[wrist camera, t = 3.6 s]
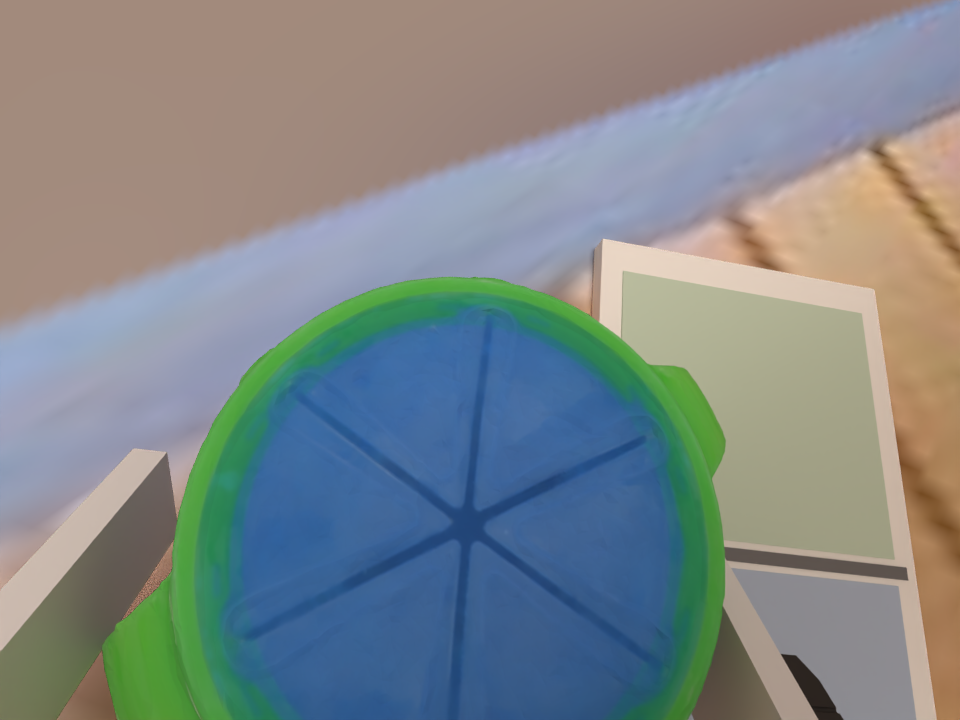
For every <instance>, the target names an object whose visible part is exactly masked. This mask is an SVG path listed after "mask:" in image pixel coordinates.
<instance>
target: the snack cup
mask: <svg viewBox="0 0 960 720" xmlns="http://www.w3.org/2000/svg"><path fill="white" fill-rule="evenodd" d="M725 447H726V439H725V437H724V434H723V430H722V429H721V426H720V424H719V422H718V421H717V419H716V416H715V414H714V412H713V410H712V408H711V407H710V405H709V403H708V401H707V399H706V398H705V396H704V394H703V393H702V391H701V389H700V388H699V386H698V384H697V383H696V382H695V380H694V379H693V378H692V376H691V375H690V373H689V372H688V370H686V369H685V368H682V367H677V366H667V365H650V364H647V363H646V362H645V361H644V360H643V359H642V358H641V357H640V356H639V355H638V354H637V353H636V352H635V351H634V350H633V349H632V348H631V347H630V346H629V345H628V344H627V343H625V342H624V341H623V340H622V339H621V338H620V337H619V336H617V335H616V334H615V333H613V332H612V331H611V330H609V329H608V328H607V327H605V326H604V325H602V324H601V323H600V322H598V321H597V320H595V319H594V318H593V317H591V316H590V315H588V314H587V313H585V312H583V311H581V310H579V309H577V308H576V307H574V306H572V305H570V304H568V303H566V302H563V301H561V300H559V299H557V298H554V297H552V296H550V295H547V294H545V293H541V292H538V291H534V290H531V289H529V288H527V287H524V286H519V285H514V284H511V283H509V282H506V281H503V280H500V279H495V278H478V277H472V278H462V277H439V278H428V279H419V280H410V281H404V282H400V283H396V284H392V285H389V286H384V287H379V288H376V289H374V290H371V291H368V292H366V293H363V294H361V295H359V296H356V297H354V298H351V299H349V300H346V301H344V302H342V303H340V304H338V305H336V306H334V307H333V308H331V309H329V310H327V311H325V312H323V313H321V314H320V315H318V316H317V317H315V318H313V319H312V320H310V321H309V322H308V323H306V324H305V325H303V326H302V327H300V328H299V329H297V330H296V331H295V332H294V333H292V334H291V335H290V336H288V337H287V338H286V339H284V340H283V341H282V342H281V343H279V344H278V345H277V346H276V347H275V348H273V349H270V350H269V351H268V352H267V353H266V354H264V355H263V356H262V357H260V358H259V359H258V360H257V361H256V362H255V363H254V364H253V365H252V366H251V367H250V368H249V370H248V371H247V372H246V373H245V374H244V375H243V377H242V378H241V380H240V383H239V386H238V388H237V389H236V390H235V391H234V393H233V394H232V395H231V397H230V398H229V399H228V401H227V402H226V404H225V405H224V407H223V408H222V410H221V411H220V413H219V414H218V416H217V417H216V419H215V420H214V422H213V424H212V427H211V429H210V431H209V433H208V436H207V438H206V439H205V441H204V442H203V444H202V446H201V448H200V451H199V453H198V456H197V458H196V460H195V463H194V465H193V468H192V470H191V473H190V475H189V479H188V482H187V486H186V490H185V494H184V497H183V500H182V504H181V507H180V510H179V515H178V520H177V525H176V531H175V538H174V545H173V552H172V563H173V567H172V571H171V573H170V574H169V575H168V577H167V578H166V579H165V580H163V581H162V582H161V584H160V586H159V587H158V588H157V589H156V590H155V591H154V592H153V593H152V594H151V595H150V596H149V597H147V598H146V599H144V600H143V601H142V602H141V603H140V604H139V605H138V606H137V607H136V608H135V610H134V611H133V612H132V613H131V614H129V615H128V616H127V617H126V618H125V619H123V620H122V621H120V622H119V623H117V624H116V626H115V630H114V631H113V632H112V633H111V634H110V635H109V636H108V637H107V638H106V640H105V642H104V643H103V645H102V652H103V661H104V669H105V673H106V677H107V681H108V685H109V689H110V693H111V697H112V701H113V705H114V709H115V713H116V717H117V720H688V719H689V717H690V715H691V713H692V711H693V709H694V708H695V706H696V703H697V700H698V698H699V695H700V694H701V692H702V690H703V685H704V683H705V680H706V676H707V674H708V671H709V669H710V666H711V663H712V658H713V654H714V651H715V647H716V644H717V640H718V635H719V629H720V624H721V619H722V607H723V601H724V597H725V549H724V539H723V529H722V522H721V516H720V510H719V504H718V500H717V497H716V493H715V489H714V485H713V481H712V477H713V475H714V474H715V472H716V470H717V468H718V467H719V465H720V463H721V461H722V458H723V455H724V453H725Z"/></svg>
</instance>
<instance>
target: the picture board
mask: <svg viewBox="0 0 960 720" xmlns="http://www.w3.org/2000/svg"><path fill="white" fill-rule="evenodd" d="M592 317H593V318H594V319H595V320H597V321H598V322H600V323H601V324H602V325H604V326H605V327H607V328H608V329H609V330H611V331H612V332H613V333H615V334H616V335H617V336H619V337H620V338H621V339H622V340H623V341H624V342H625V343H627V344H628V345H629V346H630V347H631V348H632V349H633V350H634V351H635V352H636V353H637V354H638V355H639V356H640V357H641V358H642V359H643V360H644V361H645V362H646V363H647V364H650V365H667V366H677V367H682V368H685V369H686V370H688V372H689V373H690V375H691V376H692V378H693V379H694V380H695V382H696V383H697V384H698V386H699V388H700V389H701V391H702V393H703V394H704V396H705V398H706V399H707V401H708V403H709V405H710V407H711V408H712V410H713V412H714V414H715V416H716V419H717V421H718V422H719V424H720V426H721V429H722V430H723V434H724V437H725V439H726V447H725V453H724V455H723V458H722V461H721V463H720V465H719V467H718V468H717V470H716V472H715V474H714V475H713V477H712V481H713V485H714V489H715V493H716V497H717V500H718V504H719V510H720V516H721V522H722V529H723V539H724V549H725V559H726V560H727V562H728V564H729V565H730V567H731V569H732V571H733V572H734V574H735V576H736V578H737V579H738V581H739V583H740V585H741V586H742V588H743V590H744V591H745V593H746V595H747V597H748V598H749V600H750V602H751V604H752V605H753V607H754V609H755V611H756V612H757V614H758V616H759V617H760V619H761V621H762V623H763V624H764V626H765V628H766V630H767V631H768V633H769V635H770V637H771V638H772V640H773V642H774V643H775V645H776V647H777V649H778V650H779V652H780V654H787V655H796V656H797V657H798V658H799V659H800V660H801V661H802V662H803V663H804V664H805V665H806V666H807V667H808V669H809V670H810V671H811V672H812V673H813V674H814V675H815V676H816V677H817V678H818V679H819V680H820V682H821V684H822V685H823V687H824V689H825V690H826V692H827V693H828V695H829V697H830V698H831V700H832V701H833V703H834V705H835V706H836V711H837V713H840V714H841V716H842V718H843V719H844V720H937V717H936V711H935V704H934V697H933V690H932V683H931V676H930V669H929V662H928V655H927V649H926V642H925V635H924V628H923V621H922V614H921V607H920V600H919V593H918V587H917V580H916V573H915V566H914V559H913V552H912V545H911V538H910V531H909V525H908V518H907V511H906V504H905V497H904V490H903V483H902V476H901V469H900V463H899V456H898V449H897V442H896V435H895V428H894V421H893V414H892V407H891V401H890V394H889V387H888V380H887V373H886V366H885V359H884V352H883V345H882V339H881V332H880V325H879V318H878V311H877V304H876V297H875V290H874V289H870V288H865V287H859V286H854V285H849V284H843V283H838V282H832V281H827V280H822V279H816V278H811V277H806V276H800V275H795V274H790V273H784V272H779V271H773V270H768V269H763V268H757V267H752V266H747V265H741V264H736V263H730V262H725V261H720V260H714V259H709V258H704V257H698V256H693V255H687V254H682V253H677V252H671V251H666V250H661V249H655V248H650V247H644V246H639V245H634V244H628V243H623V242H618V241H612V240H607V239H602V240H601V242H600V243H599V244H598V246H597V247H596V248H595V250H594V272H593V295H592ZM688 720H694V718H693V716H692V713H691V715H690V717H689V719H688Z"/></svg>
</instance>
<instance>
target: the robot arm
mask: <svg viewBox="0 0 960 720" xmlns="http://www.w3.org/2000/svg"><path fill="white" fill-rule="evenodd" d="M176 525H177V517H176V510H175V503H174V496H173V490H172V483H171V476H170V469H169V462H168V455H167V452H160V451H152V450H143V449H133V450H132V451H131V452H130V453H129V454H128V455H127V456H126V457H125V458H124V459H123V460H122V461H121V462H120V463H119V465H118V466H117V467H116V468H115V469H114V470H113V471H112V472H111V473H110V474H109V475H108V476H107V477H106V478H105V479H104V480H103V482H102V483H101V484H100V485H99V486H98V487H97V488H96V489H95V490H94V491H93V492H92V493H91V494H90V495H89V496H88V497H87V499H86V500H85V501H84V502H83V503H82V504H81V505H80V506H79V507H78V508H77V509H76V510H75V511H74V512H73V513H72V514H71V516H70V517H69V518H68V519H67V520H66V521H65V522H64V523H63V524H62V525H61V526H60V527H59V528H58V529H57V530H56V531H55V533H54V534H53V535H52V536H51V537H50V538H49V539H48V540H47V541H46V542H45V543H44V544H43V545H42V546H41V547H40V548H39V550H38V551H37V552H36V553H35V554H34V555H33V556H32V557H31V558H30V559H29V560H28V561H27V562H26V563H25V564H24V565H23V567H22V568H21V569H20V570H19V571H18V572H17V573H16V574H15V575H14V576H13V577H12V578H11V579H10V580H9V581H8V582H7V584H6V585H5V586H4V587H3V588H2V589H1V590H0V720H56V719H57V718H58V716H59V715H60V713H61V711H62V710H63V708H64V707H65V705H66V704H67V702H68V701H69V699H70V698H71V696H72V695H73V693H74V692H75V690H76V689H77V687H78V685H79V684H80V682H81V681H82V679H83V678H84V676H85V675H86V673H87V672H88V670H89V669H90V667H91V666H92V664H93V663H94V661H95V659H96V658H97V656H98V655H99V653H100V652H101V650H102V645H103V643H104V642H105V640H106V638H107V637H108V636H109V635H110V634H111V633H112V632H113V631H114V630H115V626H116V624H117V623H119V622H120V621H121V620H122V618H123V617H124V615H125V614H126V612H127V611H128V609H129V607H130V606H131V604H132V603H133V601H134V600H135V598H136V597H137V595H138V594H139V592H140V591H141V589H142V588H143V586H144V585H145V583H146V581H147V580H148V578H149V577H150V575H151V574H152V572H153V571H154V569H155V568H156V566H157V565H158V563H159V562H160V560H161V559H162V557H163V555H164V554H165V552H166V551H167V549H168V548H169V546H170V545H171V543H172V542H173V540H174V538H175V531H176ZM692 716H693V718H694V720H844V719H843V718H842V716H841V714H840V713H837V711H836V706H835V705H834V703H833V701H832V700H831V698H830V697H829V695H828V693H827V692H826V690H825V689H824V687H823V685H822V684H821V682H820V680H819V679H818V678H817V677H816V676H815V675H814V674H813V673H812V672H811V671H810V670H809V669H808V667H807V666H806V665H805V664H804V663H803V662H802V661H801V660H800V659H799V658H798V657H797V656H796V655H787V654H780V652H779V650H778V649H777V647H776V645H775V643H774V642H773V640H772V638H771V637H770V635H769V633H768V631H767V630H766V628H765V626H764V624H763V623H762V621H761V619H760V617H759V616H758V614H757V612H756V611H755V609H754V607H753V605H752V604H751V602H750V600H749V598H748V597H747V595H746V593H745V591H744V590H743V588H742V586H741V585H740V583H739V581H738V579H737V578H736V576H735V574H734V572H733V571H732V569H731V567H730V565H729V564H728V562H727V560H726V559H725V597H724V601H723V607H722V619H721V624H720V629H719V635H718V640H717V644H716V647H715V651H714V654H713V658H712V663H711V666H710V669H709V671H708V674H707V676H706V680H705V683H704V685H703V690H702V692H701V694H700V695H699V698H698V700H697V703H696V706H695V708H694V709H693V711H692Z"/></svg>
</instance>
